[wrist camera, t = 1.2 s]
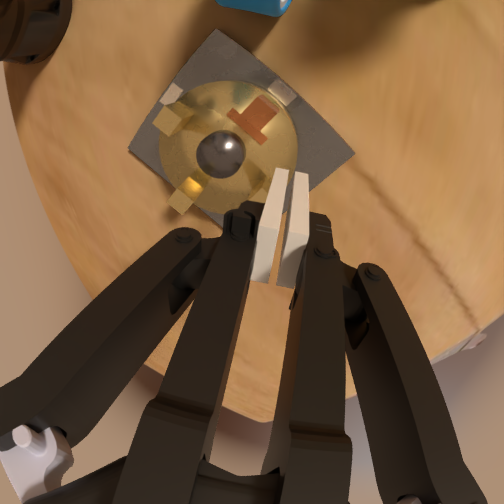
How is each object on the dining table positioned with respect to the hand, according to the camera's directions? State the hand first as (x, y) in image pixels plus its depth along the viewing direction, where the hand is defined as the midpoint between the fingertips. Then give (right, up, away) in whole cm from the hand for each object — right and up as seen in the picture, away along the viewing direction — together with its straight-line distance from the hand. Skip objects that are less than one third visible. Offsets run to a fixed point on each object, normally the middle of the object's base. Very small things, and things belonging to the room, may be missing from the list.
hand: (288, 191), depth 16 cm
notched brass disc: (-5, +9, +16) cm, 19 cm away
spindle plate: (-4, +10, +17) cm, 20 cm away
